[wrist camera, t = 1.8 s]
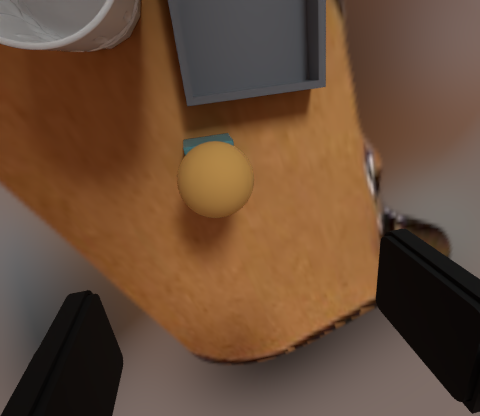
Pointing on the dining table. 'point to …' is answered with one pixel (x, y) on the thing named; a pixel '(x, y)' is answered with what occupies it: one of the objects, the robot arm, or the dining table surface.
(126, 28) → the white cup
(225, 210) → the ball
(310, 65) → the tray
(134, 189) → the dining table surface
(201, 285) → the dining table surface
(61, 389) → the robot arm
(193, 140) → the block
